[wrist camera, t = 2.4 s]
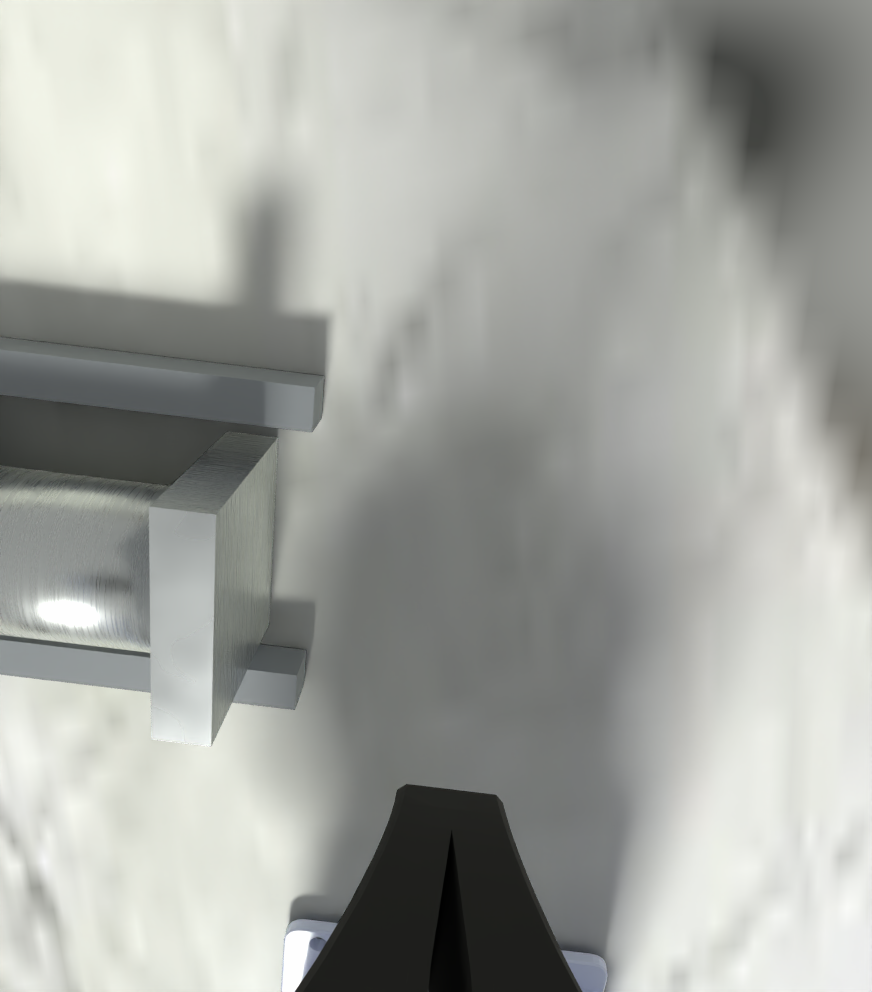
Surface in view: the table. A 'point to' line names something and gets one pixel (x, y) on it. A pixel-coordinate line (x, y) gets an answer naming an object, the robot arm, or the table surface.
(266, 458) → the spool
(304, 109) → the table surface
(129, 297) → the table surface
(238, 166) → the table surface
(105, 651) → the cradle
